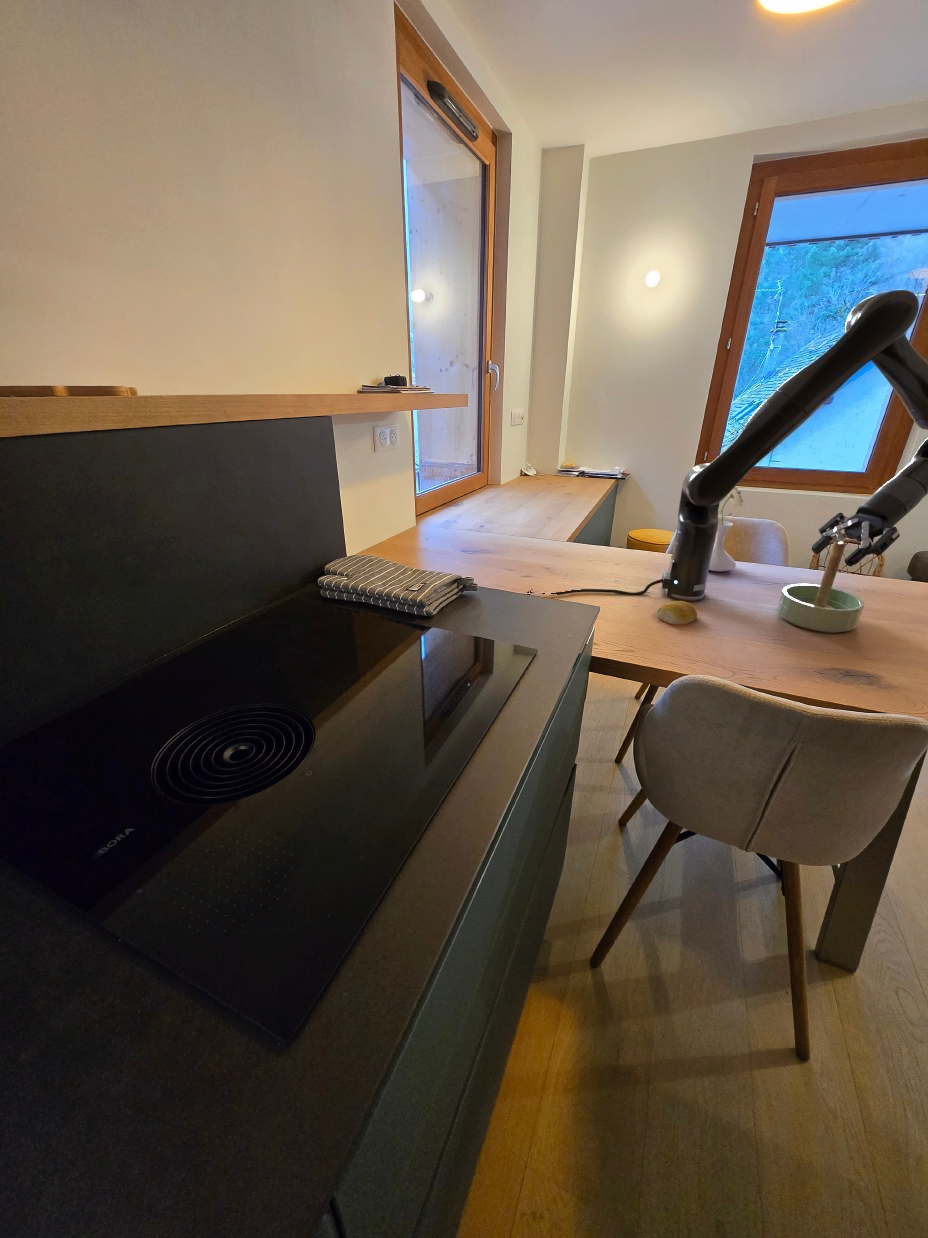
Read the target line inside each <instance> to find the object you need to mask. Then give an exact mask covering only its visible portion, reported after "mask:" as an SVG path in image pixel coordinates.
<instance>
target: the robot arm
mask: <svg viewBox="0 0 928 1238" xmlns="http://www.w3.org/2000/svg"><path fill="white" fill-rule="evenodd" d="M919 309H920V301H919V298H918V295H916V294H915V293H914V292H912V291H911V290H907V289H891V290H887V291H884V292H880V293H877V294H874V295H871V296H869V297H866V298H865V299H863V300H862V301H860V302H859V303H856V305H855V306H854V307H853V308H852V309H851V311H850V312H849V314H848V316H847V319H846V321H845V326H844V327H845V332H844V334H843V335H842V336H841V337H840V338H839V339H838V340H837V341H836V342H835V343H834V344H833V345H832V346H831V347H830V348H829V349H827V350H826V351H825V352H824V353H823V354H821V355H819V357H817V358H816V359H815V360H813V361H811V362H810V363H809V364H807V365H806V366H804V367H802V369H800V370H799V371H797V372H796V373H794V374H793V375H792V376H790V378H788V379H787V380H786V381H784V382H783V383H782V384H781V385H779V387H778V388H777V389H776V390H774V391H773V392H772V393H771V394H770V395H769V396H768V397H767V398H766V399H765V400H764V401H763V402H762V403H761V404H760V405H759V406H758V407H757V409H756V410H755V411H754V412H753V413H752V415H751V416H750V417H749V419H748V420H747V421H746V422H745V424H744V426H743V427H742V429H741V430H740V431H739V433H738V435H737V436H736V437H735V439H734V440H733V441H732V442H731V443H730V445H728V446H727V448H726V449H724V450H723V451H722V452H721V453H720V454H719V455H718V456H717V457H715V458H714V459H713V460H712V461H711V462H709V463H708V462H707V463H700V464H697V465H695V466H693V467H691V469H690V470H688V472H687V473H686V474H685V476H684V479H683V482H682V486H681V492H680V498H679V504H678V511H677V527H676V532H675V537H674V543H673V549H672V554H671V556H670V560H669V565H668V571H666V572H665V571H663V572H662V576H661V578H660V579H657V580H654V581H652V582H650V583H648V584H647V585H646V586H645V588H644V589H643V590H641V591H637V592H630V591H624V590H619V589H609V588H605V589H604V588H580V589H581V590H575V589H570V590H571V591H568V590H564V591H565V592H561V591H555V592H556V593H551V594H557V595H556V596H561V595H568V594H576V593H611V594H620V595H627V596H642V595H644V594H646V593H647V592H648V591H649V589H650V588H651V587H653V586H655V585H657V584H661V589H662V590H665V596H666V597H668V598H673V599H676V600H678V601H685V602H688V601H689V602H693V601H695V602H696V601H700V600H702V599H704V596H705V591H706V586H707V582H708V581H707V580H708V576H709V571H710V570H709V567H710V562H711V557H712V553H713V548H714V544H715V541H716V534H717V529H718V521H719V512H718V511H719V508H720V504H721V502H722V501H723V500H725V498H726V497H728V496H727V495H728V494H729V493H730V492H731V491H732V490H733V488H734V487H735V486H736V487H737V485H739V483H740V482H741V481H742V480H743V479H744V478H745V476H746V475H747V474H748V473H749V472H750V471H751V470H752V469H753V468H754V467H755V466H756V465H757V464H758V463H760V462H761V461H762V460H764V458H766V457H767V456H768V455H769V454H770V453H771V452H773V451H774V450H775V449H776V448H777V447H778V446H779V445H780V444H781V443H783V442H784V441H785V440H786V439H787V438H788V437H790V436H791V435H792V434H793V433H794V432H795V431H797V430H798V429H799V428H800V427H801V426H802V425H803V424H804V423H805V422H807V420H809V419H810V418H811V417H812V416H813V415H814V414H815V413H816V412H817V411H818V410H819V409H820V407H822V406H823V405H824V404H825V403H827V401H829V399H830V398H832V397H833V395H835V394H836V393H837V392H838V391H839V390H840V389H841V388H842V387H843V386H844V385H845V384H846V383H847V382H848V381H849V380H850V379H851V378H852V377H853V376H854V375H856V374H857V372H859V371H860V370H861V369H862V368H863V367H865V366H866V365H867V364H868V363H869V362H871V363H872V364H873V365H874V366H875V367H876V369H877V370H878V371H879V372H880V373H881V374H882V376H883V377H884V378H885V379H886V381H887V383H889V385H890V386H891V388H892V389H893V391H894V392H895V393H896V395H897V396H898V398H899V400H900V401H901V402H902V405H903V406H904V408H905V410H906V411H907V412H908V414H909V416H910V418H911V419H912V420H913V422H914V423H915V425H916V426H917V427H918V428H919V429H921V430H926V431H928V360H927V359H925V358H924V357H923V356H922V355H921V354H920V353H919V351H917V349H916V348H914V346H913V345H912V343H911V342H910V341H909V339H908V337H907V336H906V333H907V332H908V331H909V329H910V328H911V327H912V326H913V324H914V323H915V321H916V318H917V316H918V314H919ZM927 495H928V437H927V438H925V440H924V441H923V442H922V443H921V445H920V446H919V447H918V449H917V450H916V451H915V453H914V454H913V456H912V458H911V459H910V461H909V463H907V465H906V466H904V467H902V469H901V470H900V471H899V472H898V473H897V474H895V475H894V476H893V477H892V478H891V479H890V480H888V481H887V482H885V483H883V485H882V486H880V487H879V488H878V489H877V490H876V491H875V492H873V494H871V495H870V496H869V497H868V498H867V499H866V500H865V501H864V502H862V503H861V505H860V506H858V508H857V509H856V512H855V513H854V514H853V515H852V516H846V515H844V513H843V512H838V513H837V514H835V515H834V516H833V517H831V518H830V519H829V520H828V521H827V522H826V523H825V524H824V525H822V526H821V527H820V528H818V532H819V534H820V536H821V537H820V538H818V540H816V542H814V543H813V544H812V545H811V551H812V552H813V554H814V555H819V554H820V553H821V552H822V551H824V550H825V549H826V548H827V547H828V546H829V545H831V543H832V542H833V543H834V542H836V541H838V540H840V541H843V540H846V539H848V540H854V541H857V542H859V543H860V547H857V548H856V549H855V550H853V552H851V553H850V554H849V555H848V556H846V558H845V559H844V563H845V565H846V566H847V567H853V566H856V565H858V563H859V562H861V561H862V560H863V559H864V558H866V557H867V556H869V555H875V556H881V555H882V554H883V553H885V552H886V551H887V550H888V549H889V548H890V546H892V545H893V544H894V543H895V542H896V541H897V540H898V539H899V538H900V537H901V534H900V532H899V530H898V529H897V527H896V526H895V525H897V524H898V523H899V522H900V521H901V520H902V519H904V517H906V516H907V515H908V514H909V513H911V511H912V510H913V509H914V508H915V507H917V506H918V505H919V504H920V503H921V502H922V500H923V499H924V498H925V497H926V496H927ZM842 531H843V532H842ZM878 537H879V538H878ZM875 538H878V539H877V540H876V541H875ZM529 591H530V590H528V591H526V593H529ZM530 593H531V594H533V593H534V592H531V591H530ZM544 594H545V593H542V595H544Z"/></svg>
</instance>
